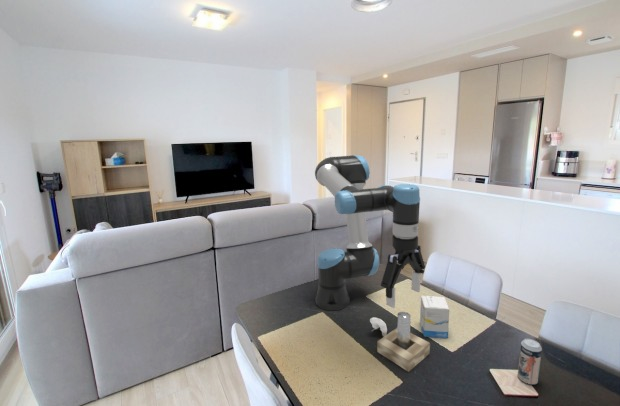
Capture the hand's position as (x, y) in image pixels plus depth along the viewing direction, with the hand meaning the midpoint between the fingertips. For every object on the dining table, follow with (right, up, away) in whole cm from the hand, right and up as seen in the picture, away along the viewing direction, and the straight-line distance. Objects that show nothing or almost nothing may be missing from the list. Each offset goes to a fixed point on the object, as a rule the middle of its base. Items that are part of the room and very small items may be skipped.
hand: (403, 298), depth 96 cm
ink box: (+16, -17, +14) cm, 27 cm away
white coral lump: (-4, -18, +15) cm, 24 cm away
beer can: (+33, -21, -9) cm, 40 cm away
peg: (+1, -19, +4) cm, 20 cm away
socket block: (+1, -19, +4) cm, 20 cm away
